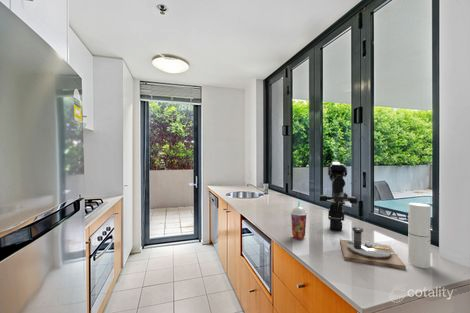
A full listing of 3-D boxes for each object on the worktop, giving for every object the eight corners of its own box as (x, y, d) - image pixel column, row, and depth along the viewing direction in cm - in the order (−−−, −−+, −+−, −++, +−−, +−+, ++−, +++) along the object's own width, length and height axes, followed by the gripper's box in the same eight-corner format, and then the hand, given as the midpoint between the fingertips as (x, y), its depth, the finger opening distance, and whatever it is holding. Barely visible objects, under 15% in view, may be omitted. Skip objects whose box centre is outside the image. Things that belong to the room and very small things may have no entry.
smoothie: (306, 236, 125) (306, 200, 125) (306, 241, 117) (306, 203, 117) (291, 234, 127) (291, 199, 127) (290, 239, 120) (290, 202, 120)
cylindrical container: (403, 260, 96) (404, 202, 96) (419, 259, 97) (419, 202, 97) (418, 268, 89) (419, 206, 89) (435, 267, 90) (435, 206, 90)
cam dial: (371, 260, 91) (371, 236, 91) (339, 245, 107) (339, 224, 107) (400, 255, 97) (400, 231, 97) (365, 241, 113) (365, 221, 113)
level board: (344, 259, 96) (344, 256, 96) (340, 242, 116) (340, 238, 116) (406, 269, 88) (406, 265, 88) (390, 248, 108) (390, 245, 108)
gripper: (319, 187, 118) (319, 216, 118) (359, 189, 112) (358, 220, 111) (319, 184, 129) (319, 211, 129) (355, 186, 122) (355, 214, 122)
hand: (337, 214), depth 122 cm, fingers closed
